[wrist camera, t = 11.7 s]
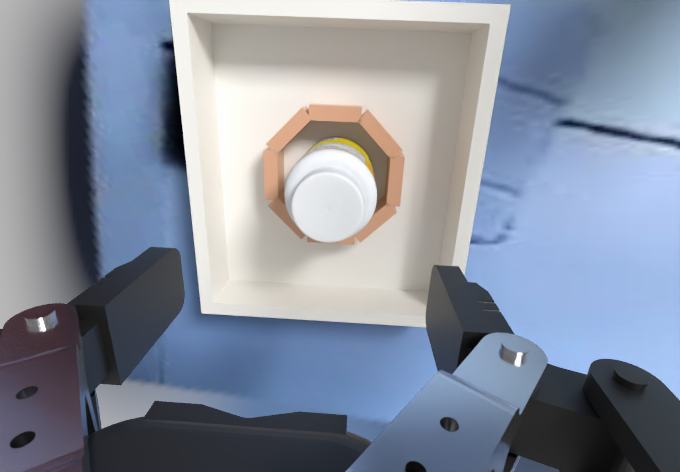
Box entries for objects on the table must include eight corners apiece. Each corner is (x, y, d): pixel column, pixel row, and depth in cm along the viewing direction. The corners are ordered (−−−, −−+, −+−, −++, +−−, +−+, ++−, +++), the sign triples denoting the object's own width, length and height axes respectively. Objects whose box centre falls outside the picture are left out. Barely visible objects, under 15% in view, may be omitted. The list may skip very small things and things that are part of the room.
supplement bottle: (353, 217, 31) (349, 273, 22) (290, 186, 31) (259, 230, 21) (386, 155, 29) (398, 187, 20) (320, 121, 29) (300, 137, 19)
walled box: (201, 9, 27) (168, -8, 23) (484, 19, 27) (511, 4, 22) (222, 283, 35) (201, 313, 31) (442, 296, 35) (455, 329, 30)
